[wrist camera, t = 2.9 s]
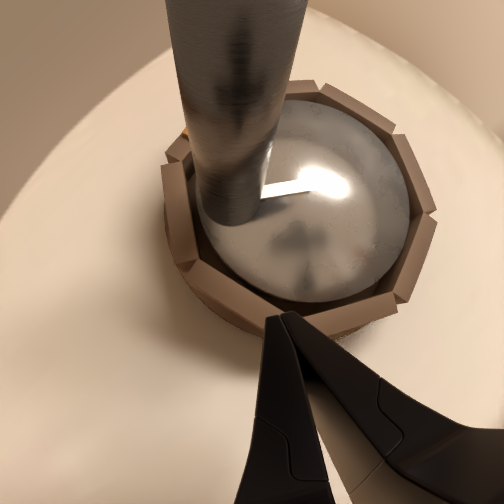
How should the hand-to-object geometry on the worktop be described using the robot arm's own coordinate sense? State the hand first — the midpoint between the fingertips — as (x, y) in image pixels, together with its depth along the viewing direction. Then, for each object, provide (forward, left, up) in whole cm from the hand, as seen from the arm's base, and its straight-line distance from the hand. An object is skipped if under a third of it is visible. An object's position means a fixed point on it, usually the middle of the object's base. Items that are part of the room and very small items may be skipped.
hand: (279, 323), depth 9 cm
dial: (+6, -4, -8) cm, 11 cm away
